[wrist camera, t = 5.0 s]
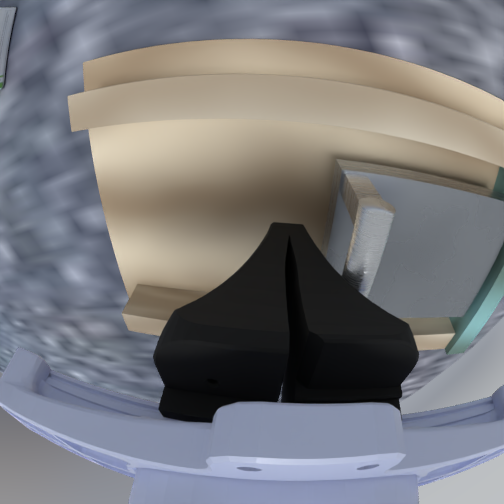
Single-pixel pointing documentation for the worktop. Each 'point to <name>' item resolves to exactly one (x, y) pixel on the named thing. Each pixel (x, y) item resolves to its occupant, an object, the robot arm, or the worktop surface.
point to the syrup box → (5, 37)
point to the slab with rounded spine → (412, 238)
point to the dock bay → (266, 157)
